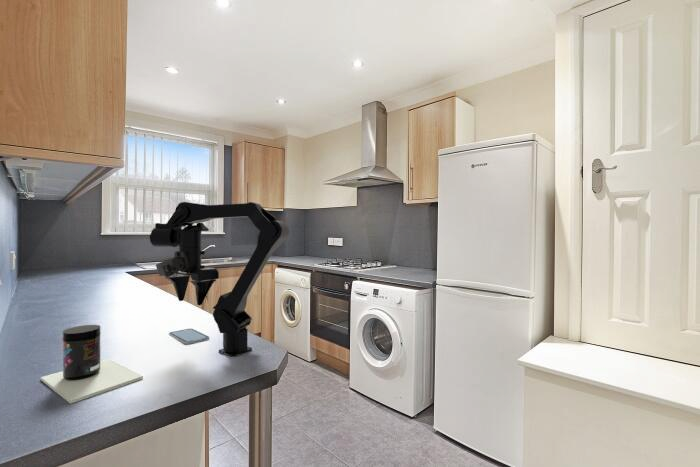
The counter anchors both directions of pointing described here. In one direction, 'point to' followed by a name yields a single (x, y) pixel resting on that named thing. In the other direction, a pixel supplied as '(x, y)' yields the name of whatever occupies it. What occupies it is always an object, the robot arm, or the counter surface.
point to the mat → (92, 381)
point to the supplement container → (81, 352)
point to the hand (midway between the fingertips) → (190, 302)
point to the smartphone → (189, 336)
